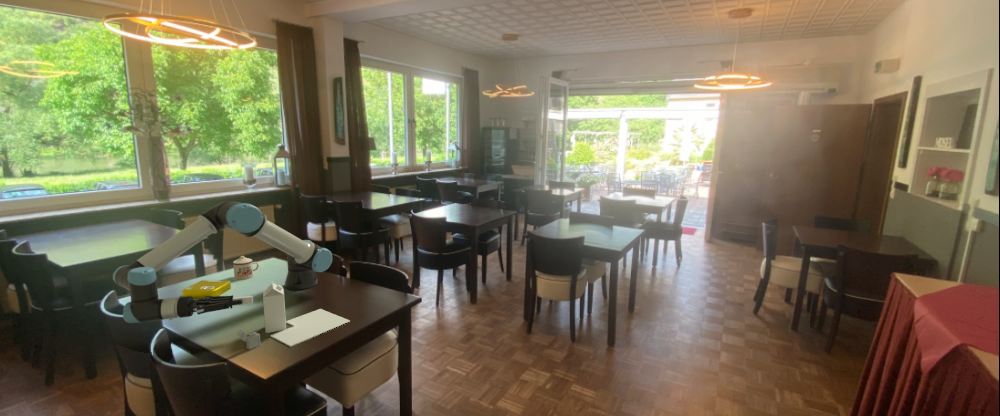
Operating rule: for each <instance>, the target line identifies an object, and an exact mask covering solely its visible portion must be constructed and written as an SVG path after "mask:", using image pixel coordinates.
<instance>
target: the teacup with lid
mask: <svg viewBox="0 0 1000 416" xmlns="http://www.w3.org/2000/svg"><path fill="white" fill-rule="evenodd" d="M253 264H256V268H253ZM232 265H233V273H234V274H233V275H234V280H247V279H250V278H253V276H254V272H255V271H257V270H258V269H259V266H260V264H259V263H258V262H257V261H253V259H252V258H249V257H245V255H241V256H239V258H237V259H236V260H234V261H233V262H232Z"/></svg>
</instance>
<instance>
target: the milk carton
mask: <svg viewBox="0 0 1000 416" xmlns="http://www.w3.org/2000/svg"><path fill="white" fill-rule="evenodd" d="M262 301H263V303H262V304H263V317H264V326H265V327H264V329H265V334H269V333H277V332H280V331H283V330H285V329H287V323H286V321H287V317H286V304H285V290H284V288H283V286H282V285H280V284H276V283H274V282H272V283H271V284H269V286H267V288H265V289H264V290H263V293H262Z"/></svg>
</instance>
